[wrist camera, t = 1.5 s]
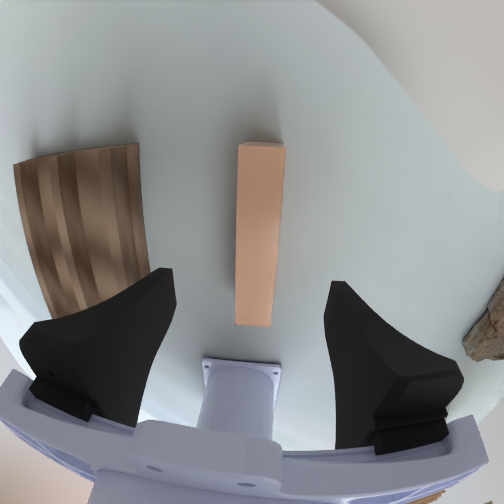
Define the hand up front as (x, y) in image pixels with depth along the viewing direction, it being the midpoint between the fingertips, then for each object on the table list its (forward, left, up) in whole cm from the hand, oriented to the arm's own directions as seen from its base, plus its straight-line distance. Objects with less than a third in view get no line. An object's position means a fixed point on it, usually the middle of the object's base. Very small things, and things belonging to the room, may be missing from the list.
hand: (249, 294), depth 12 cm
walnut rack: (-3, +15, -9) cm, 17 cm away
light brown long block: (0, 0, -9) cm, 9 cm away
